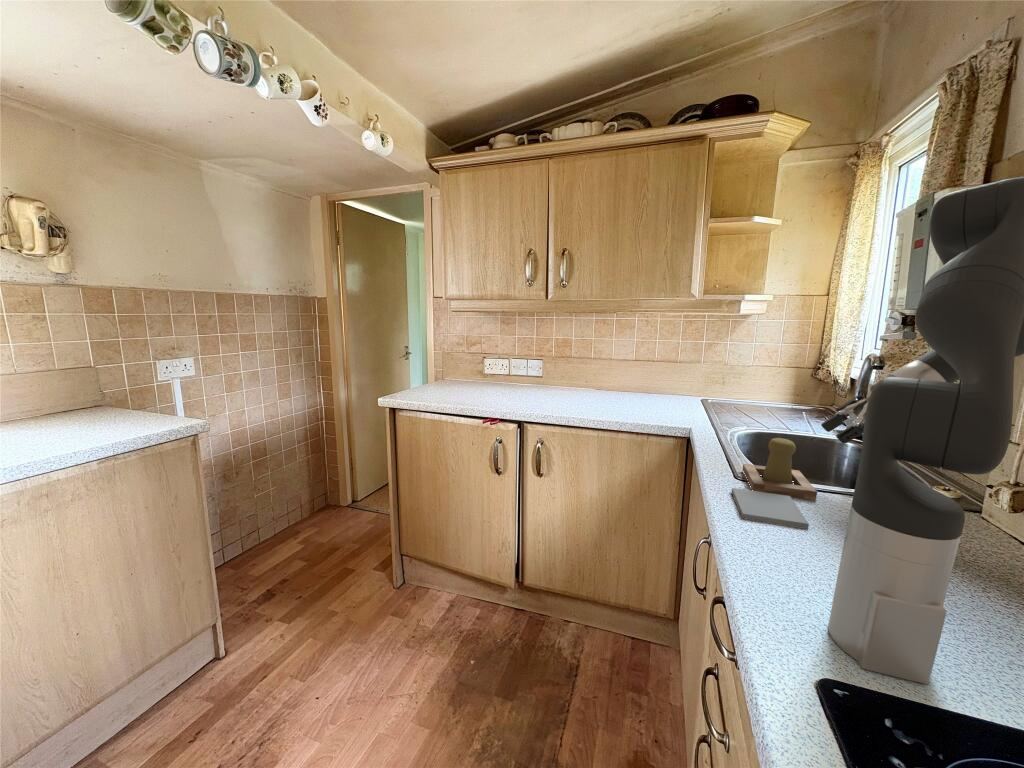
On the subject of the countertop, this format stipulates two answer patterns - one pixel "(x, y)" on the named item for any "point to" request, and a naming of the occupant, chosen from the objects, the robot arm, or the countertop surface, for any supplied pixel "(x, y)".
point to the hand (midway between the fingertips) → (831, 434)
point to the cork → (779, 461)
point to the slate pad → (769, 508)
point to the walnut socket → (797, 490)
